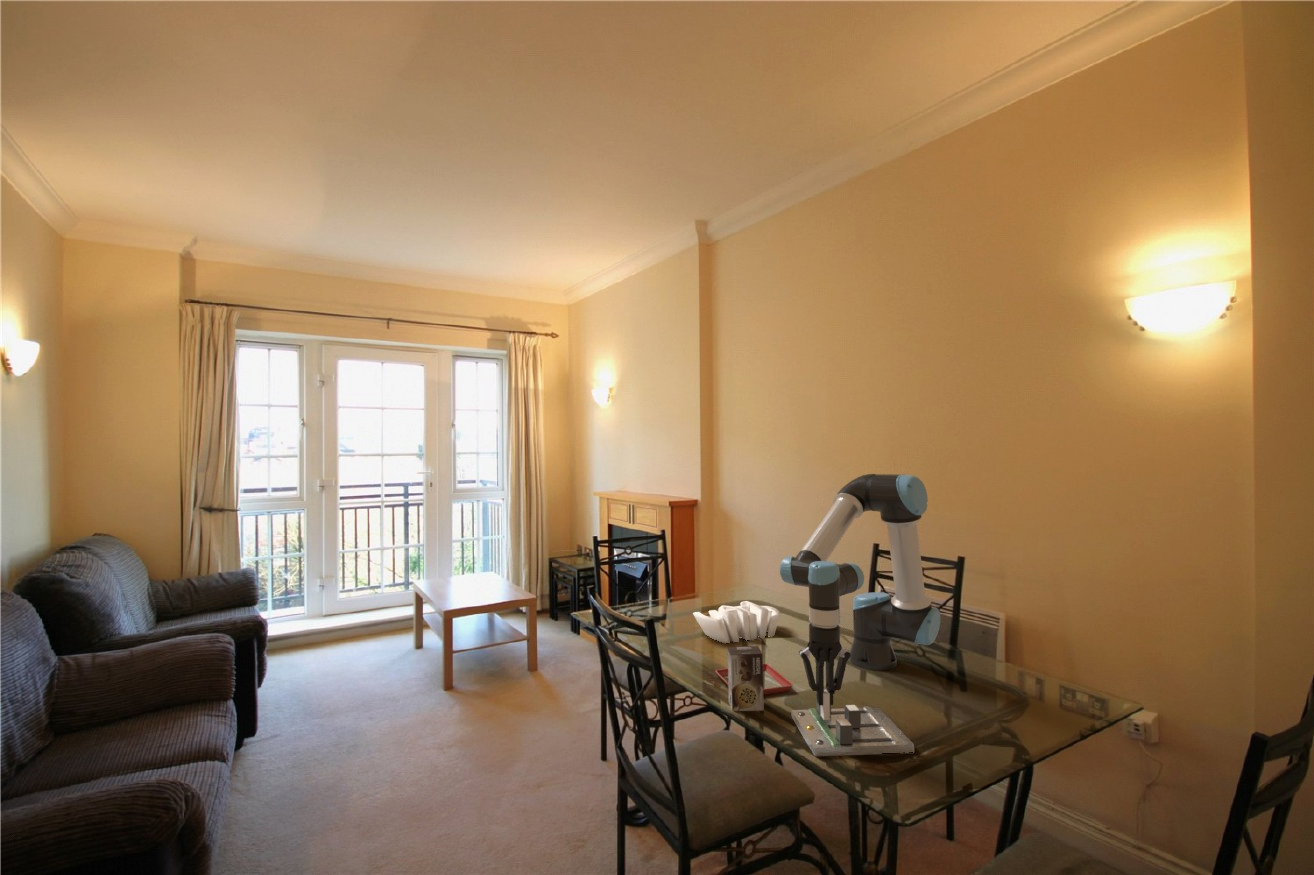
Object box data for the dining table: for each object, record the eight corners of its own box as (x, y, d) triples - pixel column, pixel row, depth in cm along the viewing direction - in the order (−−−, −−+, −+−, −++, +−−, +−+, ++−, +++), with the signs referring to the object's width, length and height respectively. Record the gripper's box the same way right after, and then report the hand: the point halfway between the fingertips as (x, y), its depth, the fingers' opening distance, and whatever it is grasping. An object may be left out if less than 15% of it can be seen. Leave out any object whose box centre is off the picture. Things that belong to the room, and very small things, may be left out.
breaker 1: (827, 709, 159) (827, 693, 159) (831, 714, 156) (830, 697, 156) (816, 710, 159) (816, 693, 159) (819, 715, 156) (819, 698, 156)
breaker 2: (847, 737, 144) (847, 718, 144) (852, 743, 141) (852, 724, 141) (835, 737, 144) (835, 719, 144) (840, 743, 141) (840, 725, 141)
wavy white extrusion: (707, 646, 216) (707, 617, 216) (690, 633, 232) (690, 606, 232) (790, 636, 227) (790, 608, 227) (769, 623, 243) (768, 598, 243)
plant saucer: (737, 703, 169) (737, 692, 169) (714, 679, 186) (714, 669, 186) (794, 696, 174) (794, 684, 174) (766, 673, 191) (766, 663, 191)
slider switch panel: (878, 714, 160) (878, 705, 160) (914, 752, 140) (914, 741, 140) (791, 717, 159) (791, 707, 159) (814, 756, 139) (814, 745, 139)
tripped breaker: (856, 722, 151) (856, 704, 152) (860, 727, 148) (860, 710, 149) (844, 722, 151) (844, 705, 151) (849, 728, 148) (848, 710, 148)
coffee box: (759, 701, 169) (758, 645, 169) (764, 712, 163) (763, 653, 163) (727, 702, 169) (727, 646, 169) (731, 712, 162) (730, 653, 163)
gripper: (844, 619, 154) (845, 710, 154) (794, 620, 153) (795, 711, 153) (855, 627, 146) (856, 723, 146) (803, 628, 146) (804, 725, 145)
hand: (825, 717), depth 149 cm, fingers closed
